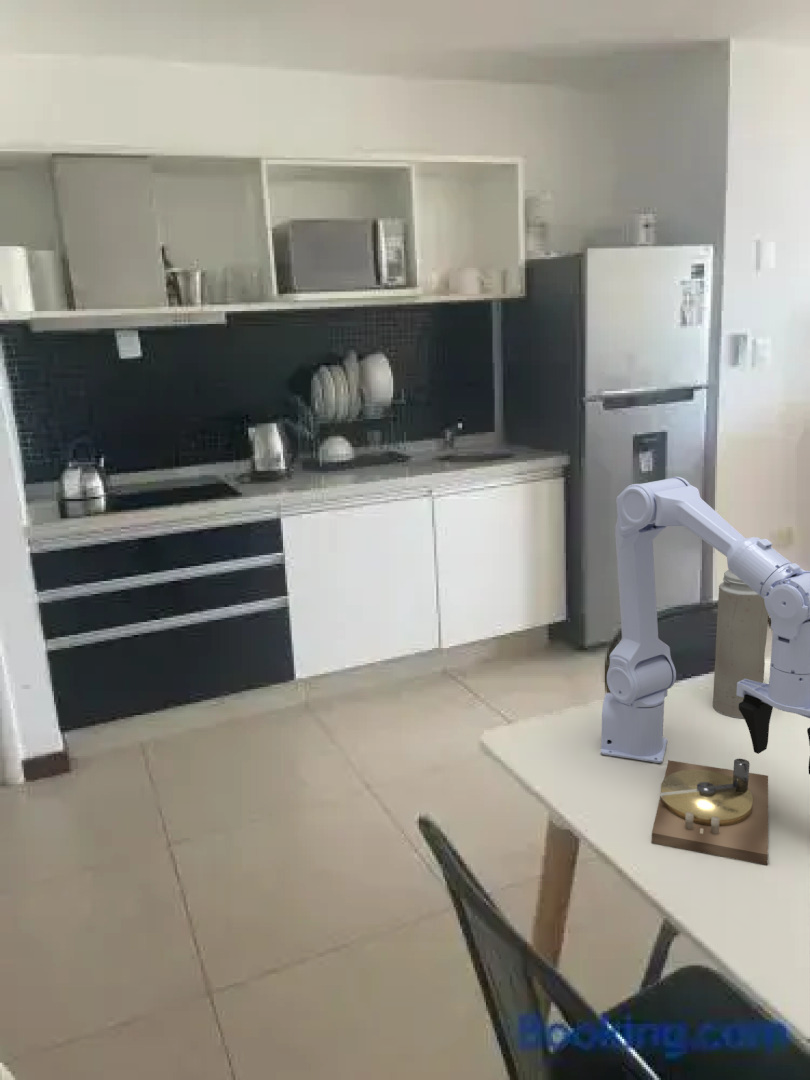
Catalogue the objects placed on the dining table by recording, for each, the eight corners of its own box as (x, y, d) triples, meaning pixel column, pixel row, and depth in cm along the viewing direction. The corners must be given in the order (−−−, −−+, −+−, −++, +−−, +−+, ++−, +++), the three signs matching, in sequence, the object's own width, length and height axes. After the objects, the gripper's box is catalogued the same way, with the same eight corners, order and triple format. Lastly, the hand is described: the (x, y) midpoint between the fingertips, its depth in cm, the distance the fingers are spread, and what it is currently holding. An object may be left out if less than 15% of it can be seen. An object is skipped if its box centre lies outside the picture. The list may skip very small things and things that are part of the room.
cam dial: (643, 783, 121) (644, 749, 120) (725, 774, 123) (727, 741, 122) (680, 830, 110) (681, 794, 109) (769, 820, 111) (772, 784, 110)
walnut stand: (651, 842, 110) (652, 819, 109) (668, 769, 128) (668, 748, 127) (767, 865, 105) (768, 840, 104) (767, 784, 123) (769, 763, 122)
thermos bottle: (750, 697, 151) (760, 547, 144) (768, 717, 143) (780, 560, 136) (706, 699, 151) (714, 549, 144) (721, 719, 143) (730, 562, 136)
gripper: (867, 674, 104) (857, 772, 107) (759, 642, 115) (753, 732, 119) (839, 690, 100) (830, 791, 103) (729, 656, 111) (724, 748, 115)
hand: (787, 761), depth 111 cm, fingers open, 7 cm apart
